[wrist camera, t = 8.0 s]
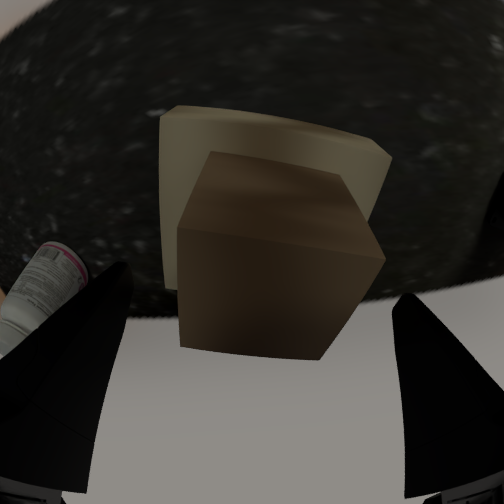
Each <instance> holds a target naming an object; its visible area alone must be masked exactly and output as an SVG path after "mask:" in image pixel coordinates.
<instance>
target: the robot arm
mask: <svg viewBox="0 0 504 504" xmlns="http://www.w3.org/2000/svg"><path fill="white" fill-rule="evenodd" d="M487 222H488V223H489V224H490V225H491V226H492V227H495V228H498V229H500V230H503V231H504V182H503V184H502V187H501V189H500V191H499V193H498V195H497V198H496V200H495V202H494V204H493V206H492V208H491V210H490V212H489V214H488V216H487ZM133 289H134V280H133V275H132V270H131V266H130V264H129V263H126V262H119V261H118V262H116V263H114V264H113V265H112V266H110V267H109V268H108V269H106V270H105V271H104V272H103V273H101V274H100V275H99V276H97V277H96V278H95V279H94V280H92V281H91V282H90V283H89V284H87V285H86V286H85V287H84V288H83V289H81V290H80V291H79V292H78V293H76V294H75V295H74V296H73V297H72V298H70V299H69V300H68V301H67V302H66V303H65V304H63V305H62V306H61V307H60V308H59V309H58V310H56V311H55V312H54V313H53V314H52V315H51V316H50V317H48V318H47V319H46V320H45V321H44V322H43V323H42V324H41V325H39V326H38V328H36V329H35V330H34V331H33V332H32V333H31V334H29V335H28V336H27V337H26V338H25V339H24V340H23V341H22V342H21V343H19V344H18V345H17V346H16V347H15V348H14V349H12V350H11V351H10V352H9V353H8V354H6V355H5V356H4V357H3V358H1V359H0V504H66V503H65V501H64V500H63V498H62V497H61V495H62V491H68V492H76V493H85V494H86V492H87V486H88V479H89V472H90V466H91V459H92V454H93V449H94V442H95V438H96V433H97V428H98V424H99V419H100V414H101V410H102V406H103V402H104V398H105V394H106V390H107V387H108V383H109V379H110V375H111V372H112V368H113V365H114V361H115V358H116V355H117V352H118V348H119V345H120V342H121V339H122V336H123V332H124V329H125V324H126V319H127V315H128V310H129V306H130V302H131V297H132V293H133ZM392 320H393V332H394V344H395V355H396V361H397V367H398V375H399V382H400V391H401V400H402V411H403V423H404V441H405V491H404V497H405V499H407V498H413V497H418V496H423V495H428V494H433V493H437V492H440V493H438V494H436V495H434V496H432V497H429V498H427V499H425V501H424V503H423V504H504V391H503V390H502V388H501V387H499V385H498V384H497V383H496V382H495V381H494V380H493V379H492V378H491V377H490V376H489V374H488V373H487V372H486V371H485V370H484V369H483V367H482V366H481V365H480V364H479V363H478V362H477V360H475V358H474V357H473V356H472V355H471V354H470V352H469V351H468V350H467V349H466V348H465V347H464V346H463V344H462V343H461V342H460V341H459V340H458V339H457V338H456V337H455V336H454V335H453V333H452V332H450V330H449V329H448V328H447V327H446V326H445V325H444V324H443V323H442V322H441V321H440V320H439V319H438V318H437V316H436V315H435V314H434V313H433V312H432V311H430V309H429V308H428V307H426V305H424V303H423V302H422V301H421V300H420V299H419V298H418V297H417V296H416V295H414V294H411V293H404V294H403V295H402V296H401V297H400V299H399V300H398V302H397V303H396V305H395V306H394V307H393V310H392Z"/></svg>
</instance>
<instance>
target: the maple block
mask: <svg viewBox="0 0 504 504" xmlns="http://www.w3.org/2000/svg"><path fill="white" fill-rule="evenodd" d="M210 151H216V152H223V153H230V154H237V155H243V156H250V157H256V158H262V159H267V160H273V161H278V162H283V163H288V164H293V165H298V166H303V167H308V168H312V169H317V170H321V171H326V172H330V173H334V174H338V175H340V176H341V178H342V179H343V181H344V183H345V184H346V186H347V188H348V189H349V191H350V193H351V195H352V196H353V198H354V200H355V201H356V203H357V205H358V207H359V209H360V210H361V212H362V214H363V216H364V218H365V219H366V221H368V219H369V216H370V214H371V211H372V209H373V207H374V204H375V202H376V199H377V197H378V194H379V192H380V189H381V187H382V184H383V182H384V179H385V176H386V174H387V171H388V168H389V166H390V163H391V160H392V157H391V156H390V155H389V154H387V153H386V152H385V151H384V150H383V149H382V148H381V147H379V146H378V145H377V144H376V143H375V142H374V141H372V140H371V139H368V138H365V137H362V136H358V135H355V134H351V133H348V132H344V131H340V130H336V129H332V128H328V127H324V126H320V125H316V124H311V123H307V122H302V121H297V120H292V119H287V118H282V117H276V116H271V115H264V114H258V113H251V112H244V111H236V110H228V109H219V108H208V107H195V106H176V107H175V108H173V109H172V110H170V111H169V112H167V113H166V114H164V115H163V116H161V117H160V134H159V200H160V225H161V242H162V256H163V268H164V279H165V288H168V289H175V290H177V226H178V223H179V221H180V218H181V216H182V214H183V211H184V209H185V207H186V204H187V202H188V200H189V197H190V195H191V193H192V190H193V188H194V186H195V184H196V181H197V179H198V177H199V175H200V173H201V170H202V168H203V166H204V164H205V162H206V160H207V158H208V156H209V153H210Z"/></svg>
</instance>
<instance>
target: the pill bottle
mask: <svg viewBox="0 0 504 504" xmlns="http://www.w3.org/2000/svg"><path fill="white" fill-rule="evenodd" d="M87 282H88V272H87V269H86V267H85V265H84V263H83V262H82V260H81V259H80V258H79V257H78V256H77V255H76V253H74V252H73V251H72V250H71V249H70V248H69V247H67V246H65V245H63V244H61V243H58V242H47V243H44V244H43V245H42V246H41V247H40V248H39V249H38V251H37V252H36V254H35V255H34V256H33V258H32V259H31V261H30V262H29V263H28V265H27V266H26V268H25V269H24V271H23V272H22V273H21V275H20V276H19V278H18V279H17V281H16V282H15V284H14V285H13V287H12V289H11V290H10V292H9V293H8V295H7V297H6V298H5V300H4V302H3V304H2V306H1V316H2V319H3V320H0V353H1V354H2V355H3V356H5V355H6V354H8V353H9V352H10V351H11V350H12V349H14V348H15V347H16V346H17V345H18V344H19V343H21V342H22V341H23V340H24V339H25V338H26V337H27V336H28V335H29V334H31V333H32V332H33V331H34V330H35V329H36V328H38V326H39V325H41V324H42V323H43V322H44V321H45V320H46V319H47V318H48V317H50V316H51V315H52V314H53V313H54V312H55V311H56V310H58V309H59V308H60V307H61V306H62V305H63V304H65V303H66V302H67V301H68V300H69V299H70V298H72V297H73V296H74V295H75V294H76V293H78V292H79V291H80V290H81V289H83V288H84V287H85V286H86V285H87Z"/></svg>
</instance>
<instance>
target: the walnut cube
mask: <svg viewBox="0 0 504 504" xmlns="http://www.w3.org/2000/svg"><path fill="white" fill-rule="evenodd" d="M385 260H386V258H385V256H384V254H383V252H382V250H381V248H380V246H379V244H378V242H377V240H376V238H375V236H374V234H373V232H372V231H371V229H370V227H369V225H368V223H367V221H366V219H365V218H364V216H363V214H362V212H361V210H360V209H359V207H358V205H357V203H356V201H355V200H354V198H353V196H352V195H351V193H350V191H349V189H348V188H347V186H346V184H345V183H344V181H343V179H342V178H341V176H340V175H338V174H334V173H330V172H326V171H321V170H317V169H312V168H308V167H303V166H298V165H293V164H288V163H283V162H278V161H273V160H267V159H262V158H256V157H250V156H243V155H237V154H230V153H223V152H216V151H210V153H209V156H208V158H207V160H206V162H205V164H204V166H203V168H202V170H201V173H200V175H199V177H198V179H197V181H196V184H195V186H194V188H193V190H192V193H191V195H190V197H189V200H188V202H187V204H186V207H185V209H184V211H183V214H182V216H181V218H180V221H179V223H178V226H177V291H178V316H179V334H180V347H186V348H193V349H199V350H206V351H213V352H221V353H229V354H237V355H247V356H257V357H268V358H282V359H298V360H320V359H321V357H322V356H323V355H324V353H325V351H326V350H327V349H328V348H329V346H330V345H331V344H332V342H333V341H334V340H335V338H336V337H337V335H338V334H339V332H340V331H341V330H342V328H343V327H344V325H345V324H346V322H347V321H348V320H349V318H350V317H351V315H352V314H353V312H354V311H355V309H356V308H357V306H358V305H359V303H360V301H361V300H362V298H363V297H364V295H365V294H366V292H367V290H368V289H369V287H370V286H371V284H372V282H373V281H374V279H375V277H376V276H377V274H378V272H379V271H380V269H381V267H382V266H383V264H384V262H385Z"/></svg>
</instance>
